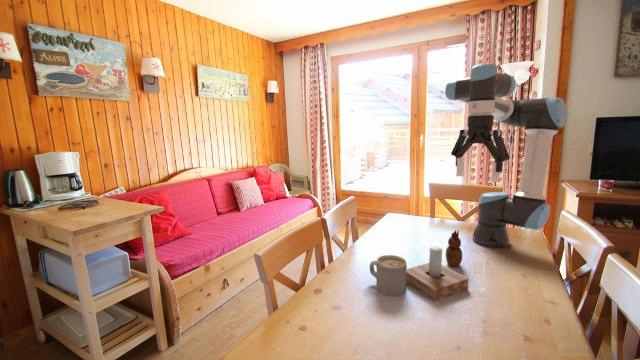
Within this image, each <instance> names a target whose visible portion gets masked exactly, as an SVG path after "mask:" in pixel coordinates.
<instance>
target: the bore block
mask: <svg viewBox="0 0 640 360" xmlns="http://www.w3.org/2000/svg"><path fill="white" fill-rule="evenodd" d="M406 284H408V285H409V286H411V287H413V289H416V290H417V291H419V292H420V293H422V294H423V295H425V296H426V297H428V298H429V299H430V300H432V301H434V302H437V301H440V300H442V299H445V298H448V297H451V296H453V295H456V294H459V293H461V292H465V291H467V290H469V278H468V277H467V276H465V275H462V274H461V273H459V272H458V271H457V272H456V271H455V270H453V269H451V268H449V267H447V266H445V265H443V264H442V265H441V277H440V278H437V279H434V278H432V277H431V276H429V262H427V263H424V264H419V265H417V266H413V267H410V268H407V269H406Z"/></svg>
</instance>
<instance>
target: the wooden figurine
mask: <svg viewBox="0 0 640 360" xmlns="http://www.w3.org/2000/svg"><path fill="white" fill-rule="evenodd" d="M459 231H460V230H457V229H455V230H454V231H452V233H451V236H450V237H449V238H448V240H447V242H448V244H447V245H448V246H447V247H446V249H445V260H446V264H447V265H448V266H450V267H454V268H456V267H459V266H460V265H461V263H462V260H463V251H462V249H461V246H462V241H461V238H459Z"/></svg>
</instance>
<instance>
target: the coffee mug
mask: <svg viewBox="0 0 640 360" xmlns="http://www.w3.org/2000/svg"><path fill="white" fill-rule="evenodd" d="M407 265H408V263H407V260H406V259H405V258H403V257H401V256H398V255H393V254H386V255H381V256H379V257H377V259H375V260H374V259H373V260H372V261H370V263H369V271H370V274H371V276H373V277H374V278H375V279H376V283H375V284H376V286H375V287H376V290H377V291H378V293H380V294H382V295H385V296H389V297H397V296H398V297H399V296H401V295H403V294H405V293H406V292H407V291H406V290H407V283H406V269H408V268H407ZM374 266H375V267H376V270H375V267H374Z"/></svg>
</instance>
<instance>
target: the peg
mask: <svg viewBox="0 0 640 360" xmlns="http://www.w3.org/2000/svg"><path fill="white" fill-rule="evenodd" d="M428 259H429V261H428V263H429V276H431V277H432V278H434V279H437V278H440V277H441V265H443V263H442V262H443V248H441V247H438V246H430V247H429V258H428Z"/></svg>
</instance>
